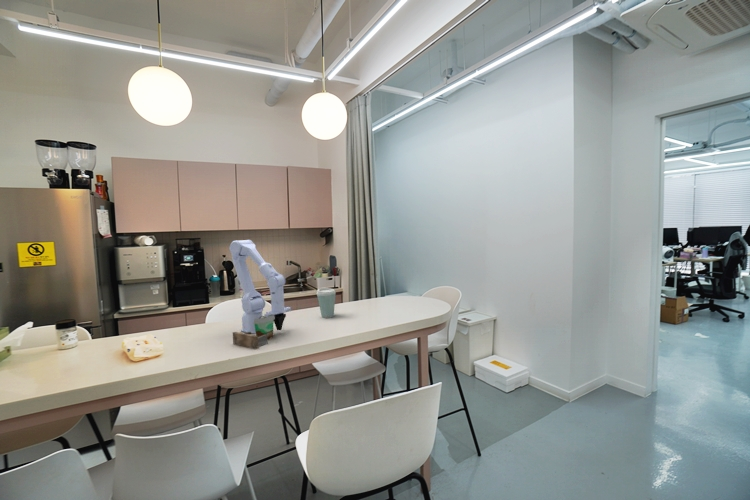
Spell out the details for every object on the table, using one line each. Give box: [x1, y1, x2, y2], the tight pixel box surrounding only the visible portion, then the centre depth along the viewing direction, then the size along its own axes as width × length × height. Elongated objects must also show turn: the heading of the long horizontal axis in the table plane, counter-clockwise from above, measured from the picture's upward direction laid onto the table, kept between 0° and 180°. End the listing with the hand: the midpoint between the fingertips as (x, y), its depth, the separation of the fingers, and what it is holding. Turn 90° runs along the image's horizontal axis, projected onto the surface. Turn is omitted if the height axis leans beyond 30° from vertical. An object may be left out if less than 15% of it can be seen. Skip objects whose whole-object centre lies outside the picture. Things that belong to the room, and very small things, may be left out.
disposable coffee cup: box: [316, 287, 337, 319], centre depth 181 cm, size 11×11×15 cm
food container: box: [254, 311, 275, 340], centre depth 148 cm, size 12×6×10 cm, turn 171°
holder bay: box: [232, 331, 268, 350], centre depth 141 cm, size 14×7×5 cm, turn 60°
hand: (279, 329), depth 155 cm, fingers closed
